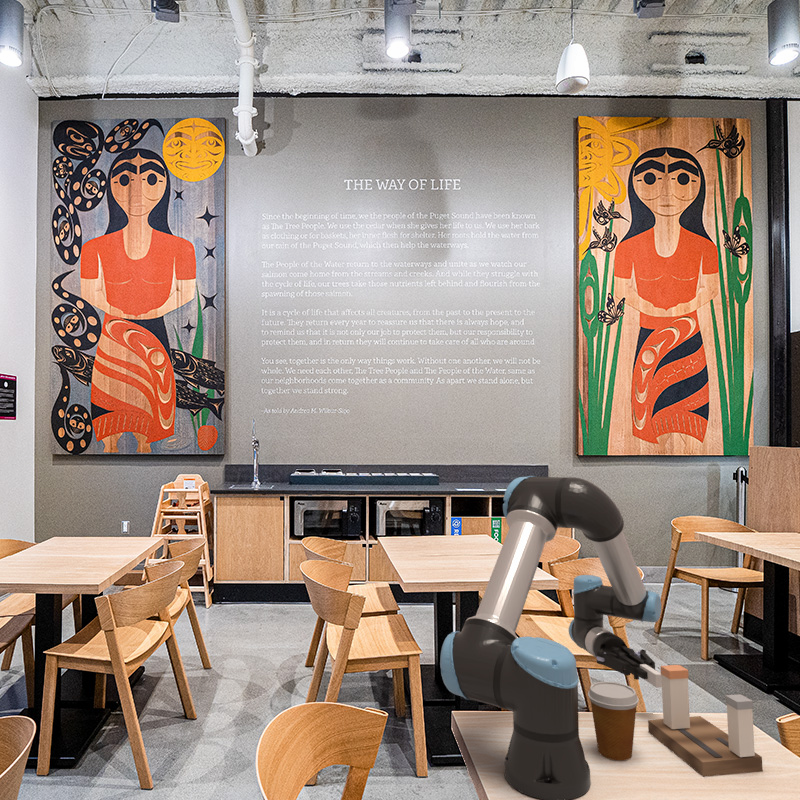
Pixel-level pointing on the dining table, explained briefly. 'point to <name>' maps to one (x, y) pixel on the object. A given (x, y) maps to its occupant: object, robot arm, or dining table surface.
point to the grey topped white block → (740, 725)
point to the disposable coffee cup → (614, 718)
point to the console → (704, 748)
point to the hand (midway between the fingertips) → (659, 680)
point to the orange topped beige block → (675, 696)
